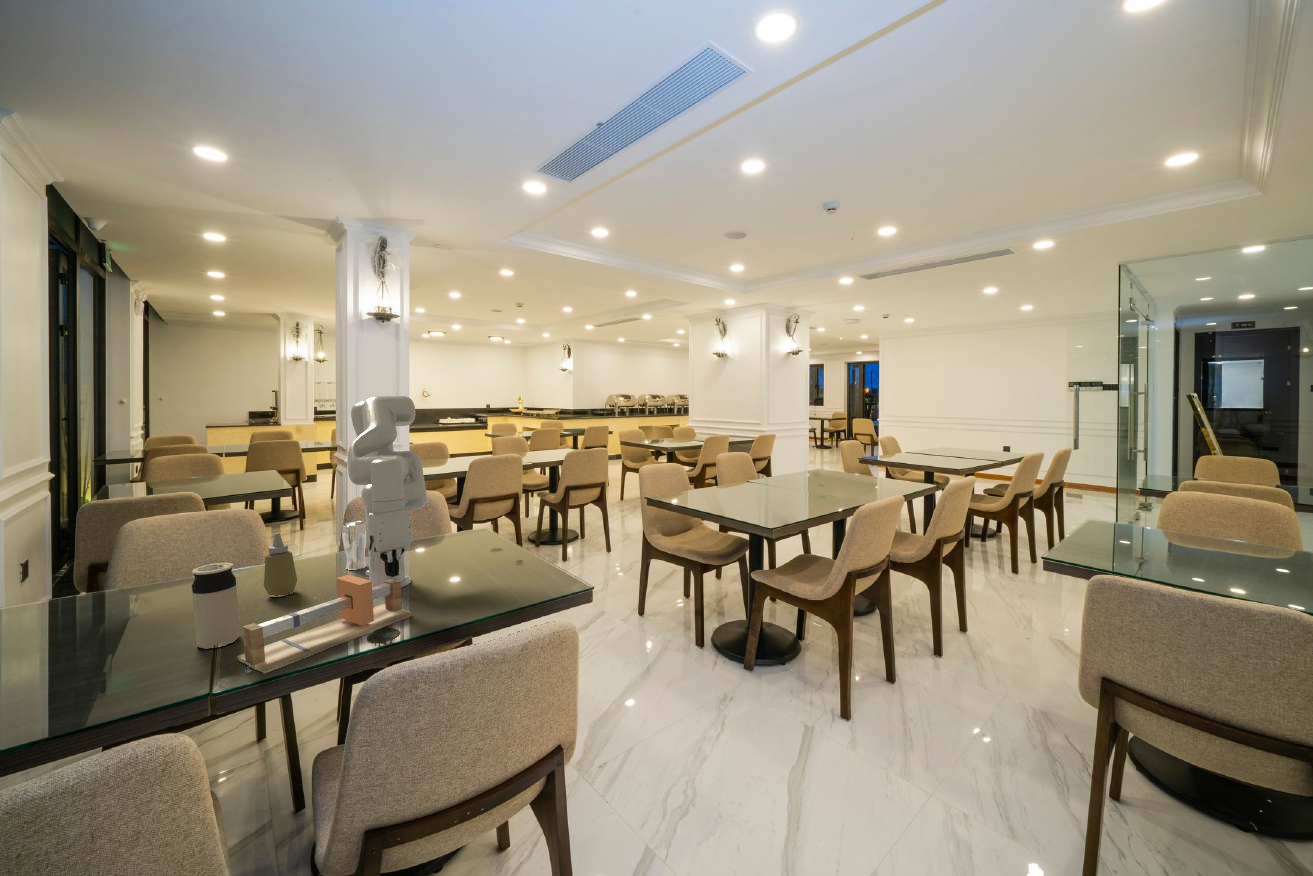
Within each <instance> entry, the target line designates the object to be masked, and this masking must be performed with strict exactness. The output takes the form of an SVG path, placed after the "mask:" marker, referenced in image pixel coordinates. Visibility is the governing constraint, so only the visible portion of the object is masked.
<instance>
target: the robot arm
mask: <svg viewBox="0 0 1313 876" xmlns="http://www.w3.org/2000/svg"><path fill="white" fill-rule="evenodd" d="M350 411H351V412H350V415H351V423H352V427H353V429H354V431H355V434H356V436H357V437H356V438H355V439H354V440H353V442H351V444H350V446H349V448H348V452H347V471H348V477H349V480H350V482H351V483H352V484H354V485H356V486H364V487H363V488H362V490H361V502H362V507H363V511H364V515H365V526H366V549H367V553H368V555H367V556H368V570H366V571H365V576H366V575H367V576H368V580H369V581H372V587H375V586H378V585H381V584H384V581H386V580H389V579H393V580H397V581H400V583H401V589H402V588H405V587H406V586H408V585H410V584H411V582H412V581H411V580H412V579H411V576H410V575H407V574H406V573H405V569H406V568H405V555H404V552H406V551H408V550H409V549H411V547H412V546H411V543H412V539H413V537H412V528H411V526H412V525H411V521H410V516H409V513H408V511H415V510H420V509H422V508H424V507H425V506H426V503H427V496H428V495H427V487H426V482H425V481H426V480H425V477H424V475H425V474H424V469H423V464H422V460H421V457H420V455H419V454H418V453H417V452H416V451H412V450H403V451H401V450H399V451H395V450H394V442H395V441H396V438H397V437H398V431H397V427H406V426H407V427H408V426H410V425H411V424H413V423H414V421H415V419H416V413H417V412H416V406H415V403H414V402H413V400H412V398H411V397H408V396H405V395H392V396H391V395H390V396H389V395H385V396H383V395H379V396H372V397H369V398H367V399H365V401H358V402H357V403H355V404H354V405H353V406H352V408H351V410H350Z"/></svg>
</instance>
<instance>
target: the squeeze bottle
mask: <svg viewBox="0 0 1313 876" xmlns="http://www.w3.org/2000/svg"><path fill="white" fill-rule="evenodd" d="M272 542H273V543H272V545H270V546H269V547H268V549H267V550H268V554H266V556H264V557H265V558H264V571H263V572H264V573H263V574H264V575H263V576H264V578H263V588H264V589H265V591H266V593H267V595H268V594H269V595H275V596H278V595H286V594H290V593H292V592H293V591H295V589H296V585H297V582H298V576H297V572H296V567H295V561H294V556H293V552H292V551H290V550H289V545H288V544H286V543H284V542H283V539H282V535H281V533H280V532H276V533H274V536H273V541H272ZM293 593H294V592H293ZM293 593H292V594H293ZM269 595H268V596H269ZM290 595H291V594H290Z"/></svg>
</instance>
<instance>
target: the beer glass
mask: <svg viewBox="0 0 1313 876" xmlns="http://www.w3.org/2000/svg"><path fill="white" fill-rule="evenodd" d="M341 534H342V538H341V539H342V542H343V549H344V552H345V555H346V563H345V564H346V565H345V566H346V567H345V570H346V569H348V570H347V571H349V570H354V571H358V570H357V569H360V568H363V569H366V568H367V567H366V566H368V565H367V561H366V549H367V526H366V521H363V520H362V521H360V520H357V521H350V522H345V523H342V532H341ZM365 567H366V568H365ZM360 570H361V569H360Z"/></svg>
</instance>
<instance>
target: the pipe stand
mask: <svg viewBox="0 0 1313 876" xmlns="http://www.w3.org/2000/svg"><path fill="white" fill-rule="evenodd" d="M372 595H373V600H378V599H379V598H383V597H384V603H380V604H378V605H376V606H373V612H374V621H373V622H370V623H367V624H365V625H359V624H356V623H354V622H351V621H348V620H345V619H342V618H339V619H336V620H333V621H331V622H327V623H325V624H323V625H320V626H317V627H314V628H312V629H308V630H305V631H303V632H300V633H297V634H294V635H292V636H288V637H286V638H283V639H280V640H278V641H275V642H272V643H269V644H267V645H265V643H264V638H268V637H270V636H273V635H275V634H276V635H277V634H279V633H282V632H284V631H287V630H290V629H293V628H294V629H295V628H298V627H300V626H301V625H305V624H308V623H310V622H313V621H315V620H319V619H322V618H324V617H328V616H331V615H333V614H336V613H338V612H340V611H342V610H345V609H348V608H351V607H353V598H352V596H350V595H347V596H344V597H341V598H338V597H337V598H335V599H332V600H329V601H326V602H322V603H320V604H316V605H314V606H310V607H308V608H305V609H301V610H298V611H295V612H290V613H287V614H285V615H282V616H279V617H277V618H273V619H271V620H267V621H264V622H261V623H258V624H257V623H255V622H253V623H250V624H245V625H243V626H242V633H243V645H244V646H243V647H244V653H242V654H238V655H236V658H237V657H238V658H239V659H241V660H244V661H245V662H248V663H250V664H251V665H253V666H255V667H256V668H258V669H260V670H262V671H267V670H269V669H272V668H275V667H277V666H281V665H285V664H286V663H290V662H293V661H296V660H299V659H302V660H304V659H305V658H304V657H306V656H309V655H312V654H315V653H317V652H319V651H322V652H324V651H323V650H324V649H327V648H330V647H332V646H335V645H337V646H339V645H338V644H340V643H342V644H344V643H343V642H345V643H347V642H349V641H348V640H350V641H352V640H355V639H357V638H359V637H363V636H365V635H367V634H369V633H372V632H374V631H377V630H379V629H382V628H385V627H387V626H389V625H392V624H395V623H398V622H399V621H403V620H405V619H407V618H408V619H409V618H410V617H412V612H411V611H409V610H406V609H403V605H402V602H403V601H402V588H401V583H400V581H397V580H393V579H389V580H386V581H384V584H381V585H378V586H375V587H372ZM351 639H352V640H351ZM340 645H341V644H340ZM335 647H336V646H335ZM332 648H333V647H332ZM330 649H331V648H330ZM327 650H328V649H327ZM317 654H318V653H317ZM315 655H316V654H315ZM312 656H313V655H312ZM309 657H310V656H309ZM303 658H304V659H303ZM299 661H300V660H299Z"/></svg>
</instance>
